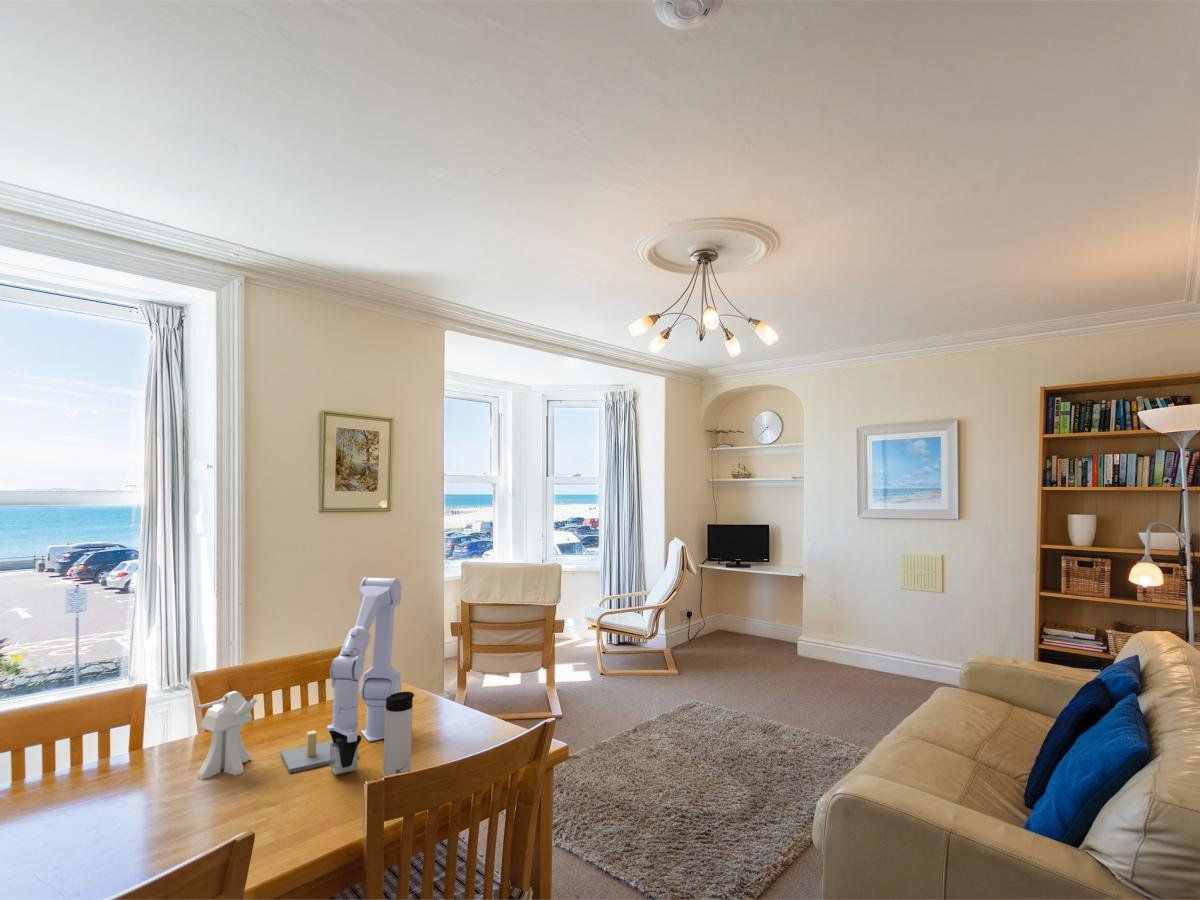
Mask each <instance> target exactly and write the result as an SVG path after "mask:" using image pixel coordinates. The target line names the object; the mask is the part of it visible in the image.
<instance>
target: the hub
mask: <svg viewBox="0 0 1200 900" xmlns="http://www.w3.org/2000/svg"><path fill="white" fill-rule="evenodd" d="M358 760H359V745H358V746H357V749H356V751H355V755H354V759H353V762H352V765H351V766H349V767H345V768H342V765H341V759H340V751H339V747H338V744H337V742H336V743H331V744H330V764H329V768H330V770H331V771H332V773H333V774H334V775H335V776H336V775H339V774H344V773H348V772H352V771H353V772H354V771H356V770H358Z"/></svg>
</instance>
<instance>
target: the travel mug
mask: <svg viewBox="0 0 1200 900" xmlns="http://www.w3.org/2000/svg"><path fill="white" fill-rule="evenodd" d="M414 697H415V693H413V692H412V691H401V692H399V693H395V694H392V695H391V696H389V697H387V698H386V709H385V710H386V711H385V737H384V743H383V766H382V767H383V768H382V769H383V772H382V778H383V777H384V776H389V775H393V774H399V773H405V772H410V773H411V766H412V765H411V763H412V735H413V732H412V731H413V707H414V706H413V698H414Z"/></svg>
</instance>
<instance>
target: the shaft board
mask: <svg viewBox="0 0 1200 900" xmlns="http://www.w3.org/2000/svg"><path fill="white" fill-rule="evenodd" d="M317 735H318V733H317V731H316V730H311V731H310V730H309V731H306V736H305V737H306V739H305V741H306V742H305V746H301V747H300V746H299V747H294V748H291V749H290V748H289V749H285V750H281V751H280V757H281V760H282V762H283V764H284V763H285V764H284V765H286V766H285V767H287V768H286V770H287V773H288V774H293V773H292V772H294V773H298V772H302V771H306V770H305V769H307V770H310V769H309V768H311V769H315V768H314V767H316V768H318V766H320V767H323V766H322V765H324V766H328V765H327V764H329V765H330V744H331V743H333V740H329V741H324V742H319V743H317V739H318V738H317V737H318V736H317ZM301 770H302V771H301ZM297 771H298V772H297Z"/></svg>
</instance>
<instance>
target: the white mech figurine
mask: <svg viewBox="0 0 1200 900" xmlns="http://www.w3.org/2000/svg"><path fill="white" fill-rule="evenodd" d="M257 702H258V699H255V698H251V700H250V701H248V700H246V699H245V697H243V694H242V692H239V691H236V690H233V691H230V692H227V693H225V694H224V695H223V696H222V698H220V699H218V700H215V701H212V702H208V703H204V704H197V706H196V709H197V710H202V709H204V708H205V709H206V708H207V710H206V713H205V714H204V717H203V719H202V721H201V723H200V725H199V727H200V728H201V729H203V730H206V731H208V732H211V733H212V734H211V735H212V736H211V742H210V746H209V749H208V752H207V754H206V757H205V760H204V762H203V763H202V765H201V767H200V768H199V770H198V772H197V775H196V777H198V779H199V778H201V779H200V780H205V779H207V778H206V777H208V776H210V777H212V776H211V775H213V774H215V775H217V774H216V773H218V772H220V773H225V772H227V773H226V774H228V773H229V775H231V774H233V775H237V774H239V773H242V772H243V773H244V772H245V768H244V765H243V764H244V763H243V762H245V761H248V760H250V759H252V758H251V757H252V756H251V754H250V753H249V752H248V751H247V749H246V748H245V746H244V744H243V740H242V738H241V726H243V725H246V724H249V723H250V722H251V720H252V719H253V716H252V713H251V711H252V709H253V708H254V706H255V705H256V703H257ZM211 706H212V707H211ZM208 707H209V708H208ZM250 761H251V760H250ZM248 762H249V761H248ZM242 763H243V764H242ZM245 763H246V762H245ZM224 771H225V772H224ZM243 773H242V774H243ZM218 774H219V773H218ZM233 775H232V776H233ZM239 775H240V774H239ZM213 776H214V775H213ZM237 776H238V775H237ZM204 778H205V779H204ZM208 778H209V777H208Z"/></svg>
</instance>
